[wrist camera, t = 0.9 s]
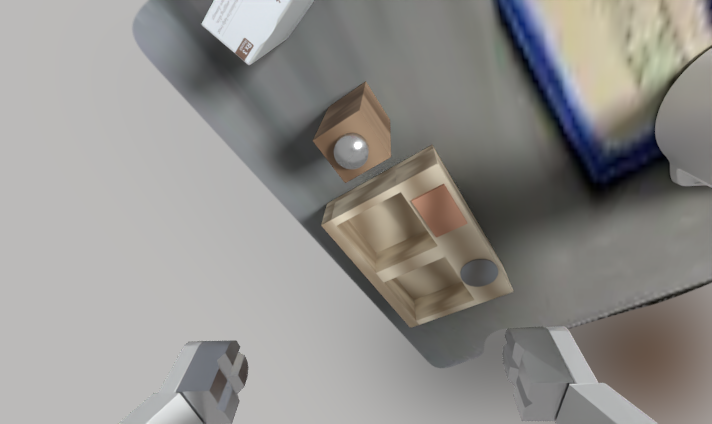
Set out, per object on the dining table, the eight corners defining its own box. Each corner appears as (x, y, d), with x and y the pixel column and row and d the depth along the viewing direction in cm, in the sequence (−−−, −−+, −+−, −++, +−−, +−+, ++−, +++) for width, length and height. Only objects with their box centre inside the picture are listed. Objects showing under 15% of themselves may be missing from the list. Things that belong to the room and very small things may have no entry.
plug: (365, 81, 36) (358, 113, 27) (389, 120, 38) (391, 161, 29) (328, 106, 38) (310, 145, 29) (353, 142, 40) (344, 188, 31)
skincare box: (287, -49, 31) (238, -66, 20) (325, -10, 32) (297, -7, 22) (251, 10, 33) (193, 20, 23) (288, 44, 35) (248, 67, 25)
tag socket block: (432, 144, 40) (438, 164, 35) (503, 265, 49) (514, 293, 45) (327, 203, 45) (320, 226, 41) (408, 301, 55) (410, 329, 50)
